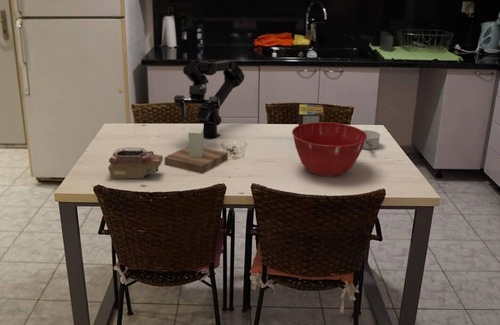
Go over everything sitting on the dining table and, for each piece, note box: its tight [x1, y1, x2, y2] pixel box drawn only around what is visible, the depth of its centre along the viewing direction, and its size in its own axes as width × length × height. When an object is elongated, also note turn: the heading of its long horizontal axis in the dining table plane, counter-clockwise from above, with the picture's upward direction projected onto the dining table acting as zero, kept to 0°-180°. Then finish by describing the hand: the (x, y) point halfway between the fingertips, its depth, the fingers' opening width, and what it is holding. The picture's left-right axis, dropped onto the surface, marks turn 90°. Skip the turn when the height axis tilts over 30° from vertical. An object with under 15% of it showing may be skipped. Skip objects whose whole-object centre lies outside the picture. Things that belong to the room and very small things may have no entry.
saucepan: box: [361, 129, 381, 150], centre depth 250 cm, size 12×20×6 cm, turn 175°
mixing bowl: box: [291, 121, 367, 178], centre depth 225 cm, size 28×28×16 cm
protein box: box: [297, 104, 324, 126], centre depth 256 cm, size 10×15×16 cm
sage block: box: [187, 128, 205, 157], centre depth 232 cm, size 5×5×10 cm
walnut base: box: [164, 145, 229, 174], centre depth 234 cm, size 18×18×3 cm
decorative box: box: [107, 146, 164, 179], centre depth 220 cm, size 13×20×10 cm, turn 84°
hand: (194, 119), depth 243 cm, fingers open, 9 cm apart
